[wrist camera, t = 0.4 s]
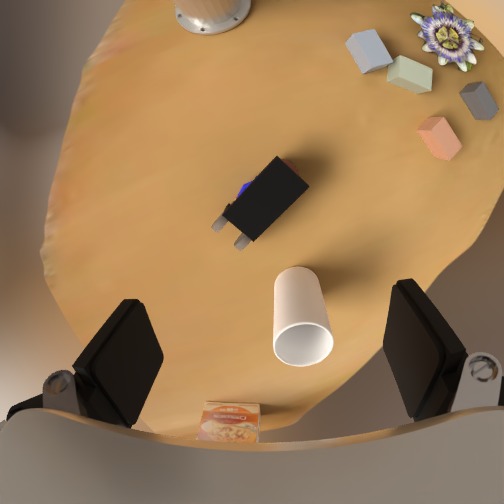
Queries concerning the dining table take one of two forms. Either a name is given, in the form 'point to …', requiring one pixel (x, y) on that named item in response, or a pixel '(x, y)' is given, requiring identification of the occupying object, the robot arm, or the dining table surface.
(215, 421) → the coffeecake box
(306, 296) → the cup
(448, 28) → the passion flower
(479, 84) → the charcoal brick
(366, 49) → the slate-blue brick
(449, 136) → the terracotta brick
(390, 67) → the sage brick
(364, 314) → the dining table surface
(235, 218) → the figurine character
